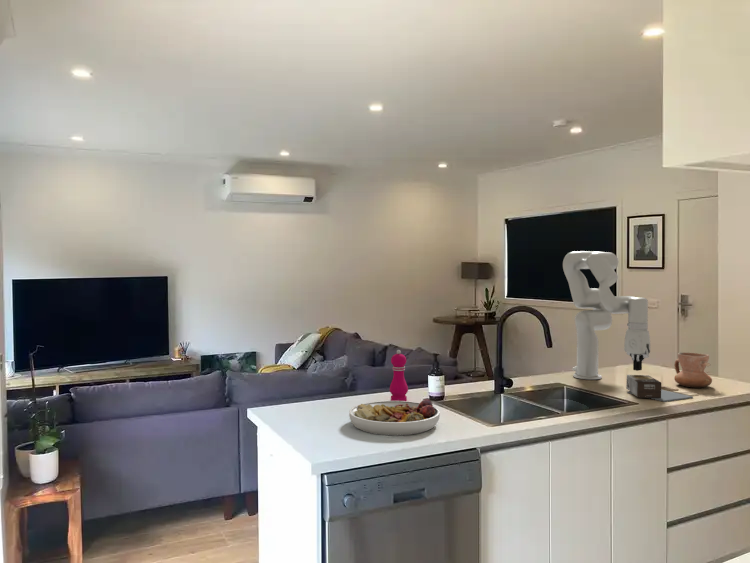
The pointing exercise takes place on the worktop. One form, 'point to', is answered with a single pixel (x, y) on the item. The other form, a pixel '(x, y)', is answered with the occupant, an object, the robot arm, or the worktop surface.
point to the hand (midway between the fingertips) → (637, 370)
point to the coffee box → (644, 386)
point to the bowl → (395, 417)
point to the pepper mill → (398, 378)
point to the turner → (678, 391)
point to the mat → (669, 396)
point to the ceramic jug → (692, 370)
